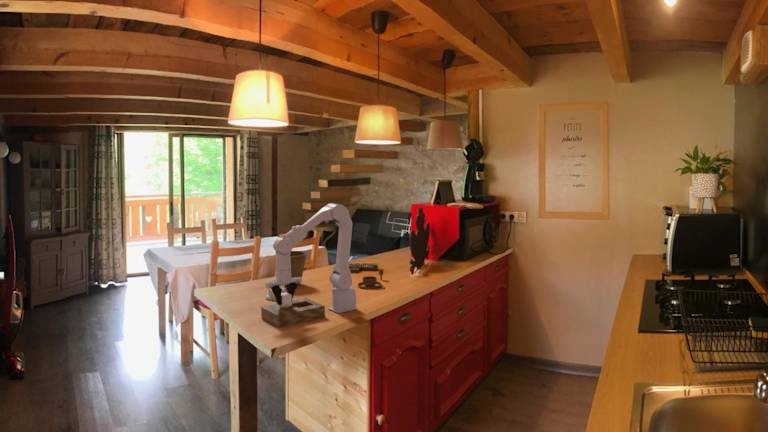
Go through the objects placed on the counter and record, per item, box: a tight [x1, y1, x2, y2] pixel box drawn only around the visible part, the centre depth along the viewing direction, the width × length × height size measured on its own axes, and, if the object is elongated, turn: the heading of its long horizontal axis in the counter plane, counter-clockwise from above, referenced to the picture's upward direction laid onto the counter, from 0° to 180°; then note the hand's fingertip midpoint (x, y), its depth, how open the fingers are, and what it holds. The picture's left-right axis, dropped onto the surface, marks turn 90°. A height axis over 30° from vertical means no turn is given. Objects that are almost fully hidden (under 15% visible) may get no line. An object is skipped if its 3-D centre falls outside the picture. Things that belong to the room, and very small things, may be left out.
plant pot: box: [284, 250, 307, 287], centre depth 241 cm, size 15×15×16 cm
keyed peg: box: [278, 291, 293, 310], centre depth 186 cm, size 5×5×8 cm
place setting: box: [357, 268, 386, 291], centre depth 240 cm, size 18×20×6 cm
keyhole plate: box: [260, 297, 326, 328], centre depth 189 cm, size 20×15×4 cm
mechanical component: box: [265, 286, 287, 302], centre depth 218 cm, size 10×4×10 cm
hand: (284, 303), depth 187 cm, fingers closed on keyed peg, 4 cm apart
